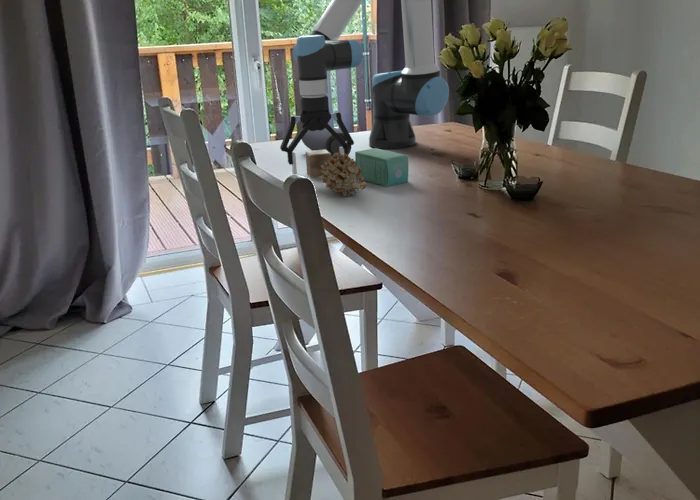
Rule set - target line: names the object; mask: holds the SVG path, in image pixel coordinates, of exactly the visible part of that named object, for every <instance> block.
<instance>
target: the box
mask: <svg viewBox="0 0 700 500" xmlns="http://www.w3.org/2000/svg"><path fill="white" fill-rule="evenodd" d="M354 155H355V158H354V159H355V160H354V161H356V162H357V164H356V166H359V167H361V170H362V173H361V176H363V177H364V179H363V181H364V182H369V183H370V182H371V183H372V184H376V185H380V186H384V187H386V188H388V187H393V186H396V185H399V184H403V183H406V182H408V181H409V156H408V155H407V154H403V153H398V152H394V151H390V150H386V149H382V148H375V147H372V148H370V149H369V148H368V149H363V150H357V151H355V154H354Z"/></svg>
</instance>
